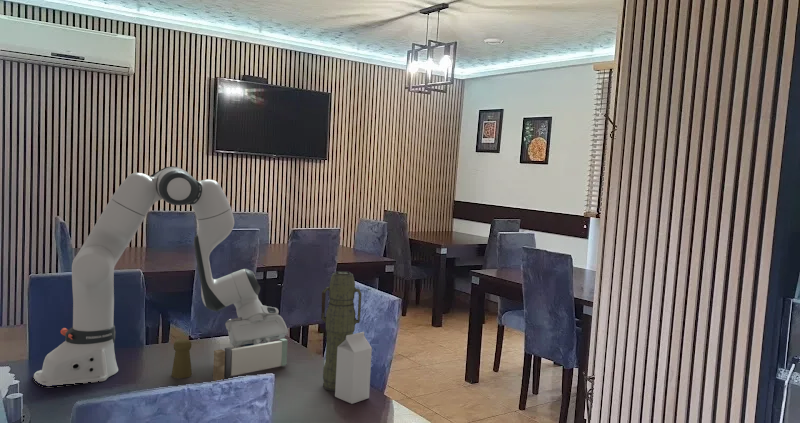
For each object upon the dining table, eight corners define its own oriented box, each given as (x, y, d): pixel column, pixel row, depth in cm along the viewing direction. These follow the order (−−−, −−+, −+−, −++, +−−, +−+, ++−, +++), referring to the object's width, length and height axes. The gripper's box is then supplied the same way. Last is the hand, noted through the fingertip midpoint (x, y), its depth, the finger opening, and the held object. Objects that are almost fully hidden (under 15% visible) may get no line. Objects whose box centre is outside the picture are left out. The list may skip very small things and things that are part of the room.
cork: (185, 379, 188) (186, 343, 188) (167, 376, 190) (168, 341, 189) (195, 373, 194) (196, 338, 194) (178, 370, 196) (179, 336, 195)
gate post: (216, 381, 188) (217, 352, 187) (212, 379, 190) (214, 350, 189) (223, 380, 189) (225, 351, 189) (220, 378, 191) (221, 349, 190)
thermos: (317, 380, 194) (323, 269, 191) (355, 381, 195) (361, 270, 192) (317, 391, 185) (322, 274, 182) (357, 391, 186) (363, 275, 184)
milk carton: (369, 398, 182) (372, 334, 180) (351, 404, 176) (355, 338, 175) (352, 391, 186) (355, 329, 185) (334, 397, 181) (337, 333, 179)
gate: (225, 377, 190) (226, 349, 189) (222, 375, 191) (223, 348, 191) (286, 365, 204) (287, 339, 204) (283, 363, 206) (284, 337, 205)
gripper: (227, 314, 203) (240, 352, 196) (281, 307, 217) (295, 342, 210) (220, 325, 206) (233, 362, 200) (274, 317, 220) (288, 351, 214)
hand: (265, 351), depth 205 cm, fingers closed
